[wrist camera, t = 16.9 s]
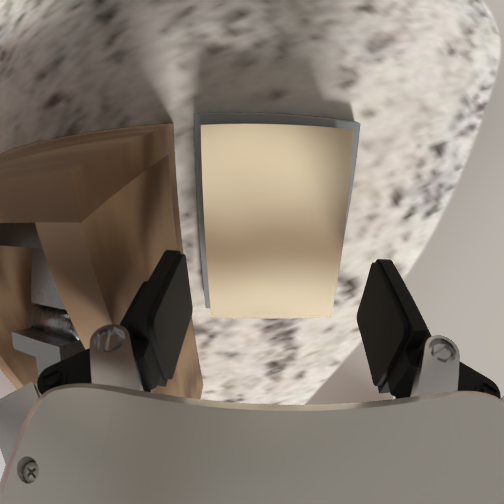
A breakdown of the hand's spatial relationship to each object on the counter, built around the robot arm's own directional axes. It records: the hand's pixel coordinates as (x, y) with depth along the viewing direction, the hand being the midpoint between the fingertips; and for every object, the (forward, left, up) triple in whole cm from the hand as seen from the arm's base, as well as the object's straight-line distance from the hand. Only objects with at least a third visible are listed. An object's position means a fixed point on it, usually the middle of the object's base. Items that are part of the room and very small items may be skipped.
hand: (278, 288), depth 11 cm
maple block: (-1, 0, -5) cm, 5 cm away
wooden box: (+6, -12, -6) cm, 15 cm away
